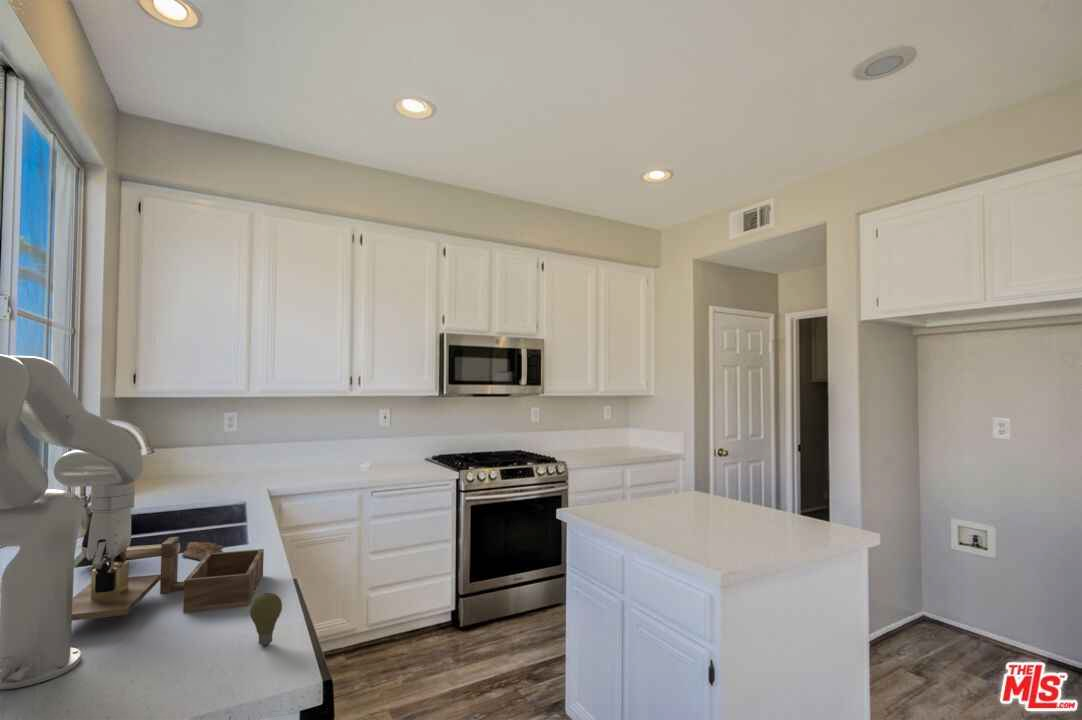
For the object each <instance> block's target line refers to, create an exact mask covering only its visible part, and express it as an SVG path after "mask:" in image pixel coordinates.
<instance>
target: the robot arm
mask: <svg viewBox="0 0 1082 720" xmlns="http://www.w3.org/2000/svg"><path fill="white" fill-rule="evenodd" d="M19 421H21V422H22V423H23V425H24V426H25V428H26V429H27V430H28V432H30V434H31V435H32V436H33V437H34V438H35V439H37V440H38V441H40V442H43V443H46V444H49V445H51V446H52V445H53V446H56V447H61V448H63V449H69V450H71V451H68V452H66V453H64V454H63V455H61V456H60V457H59V458H58V459H57V461H56V462H55V464H54V468H53V476H54V478H55V480H56V481H57V482H58V483H59V484H61V485H63V486H66V487H74V488H75V487H76V488H78V487H79V488H81V487H88V488H89V487H91V489H90V513H91V512H92V513H93V514H92V518H91V523H90V529H89V538H88V550H87V558H86V559H87V561H89V562H91V561H90V560H93V559H94V561H93V562H92V566H93V567H94V569H95V574H96V577H95V592H96V593H101V592H111V591H113V590H114V578H115V572H112V571H113V565H114V562H121V561H127V559H126V549H127V548H128V547H130V546H131V543H132V541H131V540H132V509H134V508H135V493H136V492H135V491H136V489H135V488H136V486H135V485H136V484H135V483H136V481H137V480H139V478H140V477H141V475H142V472H143V470H144V460H143V456H142V453H141V451H140V449H139V447H138V445H137V444H136V442H135V441H134V438H133V437H132V436H131V435H130V434H129V433H128V432H127V431H126V430H124V429H123V428H121V427H120V426H118V425H116V424H114V423H112V422H110V421H108V420H107V419H105V418H103V417H102V416H101V417H100V416H99V415H97V414H94V413H92V412H90V411H88V410H86V409H85V407H84V405H83V404H82V402H81V401H80V399H79V398H78V396H77V395H76V394H75V392H74V391H73V389H72V387H71V386H70V384H69V383H68V382H67V380H66V378H65V377H64V375H63V374H62V372H61V371H60V369H59V368H58V367H57V366H56V365H55V363H53V362H52V361H50V360H48V359H46V358H43V357H38V356H30V355H29V356H27V355H4V354H0V547H19V550H18V552H17V553H16V555H14V557H13V558H12V559H11V560H10V561H9V563H7V565H6V567H5V568H4V570H3V572H2V576H1V582H0V583H1V584H0V690H12V689H19V688H20V689H21V688H24V687H29V686H33V685H37V684H40V682H41V683H43V681H44V682H47V681H49V679H50V680H52V679H54V678H57V677H58V676H59V677H60V676H61V675H64V674H65V673H67V672H69V671H71V670H72V669H73V668H75V667H77V665H78V664H79V663H80V662H81V661H82V655H83V654H82V651H81V650H80V649H78V648H75V647H72V624H73V620H72V603H73V597H74V596H73V595H74V578H75V577H74V575H75V574H74V572H75V559H76V558H75V556H76V555H75V554H76V548H77V547H76V546H77V541H78V536H79V532H80V529H81V526H82V525H81V524H82V521H83V516H84V503H83V501H82V499H81V498H80V497H79V496H78V495H77V494H75V493H73V492H71V491H69V490H64V489H53V488H51V489H50V488H49V476H48V474H47V471H46V469H45V468H44V465H42V463H41V461H40V460H39V459H38V457H37V456H36V455H35V453H34V452H33V450H32V449H31V448H30V447H29V445H28V444H27V442H26V441H25V440H24V438H23V435H21V433H20V430H19ZM48 488H49V489H48ZM104 555H109V558H104ZM104 561H109V565H108V564H107V563H104ZM46 680H47V681H46Z"/></svg>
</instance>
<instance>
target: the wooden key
mask: <svg viewBox="0 0 1082 720" xmlns="http://www.w3.org/2000/svg"><path fill="white" fill-rule="evenodd" d="M161 549H162V543H161V544H160V543H159V544H148V545H147V544H146V545H135V546H134V545H133V546H129V547H128V548H127V549H126V560H127V559H138V558H152V557H161ZM179 552H181V542H178V543H174V544H173V546H172V555H176V554H177V553H178V554H179ZM108 558H109V555H108Z"/></svg>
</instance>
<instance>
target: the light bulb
mask: <svg viewBox="0 0 1082 720" xmlns="http://www.w3.org/2000/svg"><path fill="white" fill-rule="evenodd" d="M282 610H283V602H282V600H281V598H280V596H279V595H277V594H276V593H274V592H264V593H261V594H259V595H258V596H257V597H256V598H255V599H254V600H253V601H252V603H251V604H250V609H249V614H250V618H251V620H252V622H253V624H254V626H255V630H256V632H257V635H258V644H259V645H260V646H262V647H268V646H269V645H270V644H271V643H272V642H273V634H274V630H275V627H276V623H277V621H278V618H279V617H280V616H281V615H280V614H281V613H282Z"/></svg>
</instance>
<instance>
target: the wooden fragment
mask: <svg viewBox="0 0 1082 720" xmlns="http://www.w3.org/2000/svg"><path fill="white" fill-rule="evenodd" d="M185 547H186V548H184V551H183V553H182V555H181V557H183V558H184V557H185V558H190V559H194V560H198V561H202V559H203V558H204V557H205V556H206V555H207V554H208V553H221V552H224V550H222V548H223V545H220V544H217V543H216V542H214V543H213V542H209V541H207V542H204V541H203V542H202V541H201V542H199V541H195V542H194V541H190V542H188V543H187V546H185Z"/></svg>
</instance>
